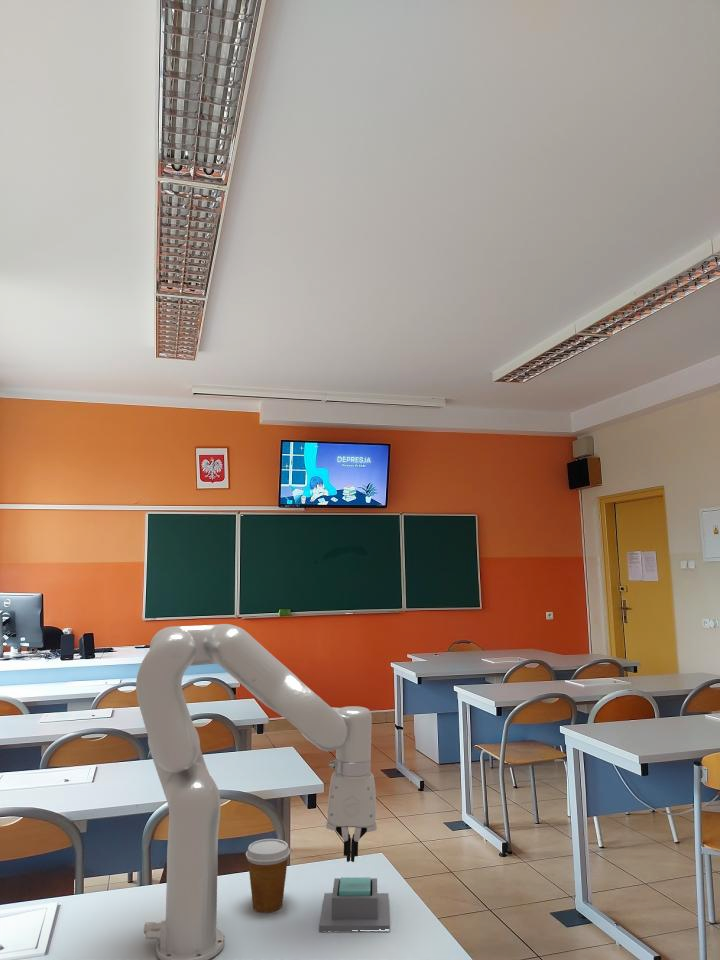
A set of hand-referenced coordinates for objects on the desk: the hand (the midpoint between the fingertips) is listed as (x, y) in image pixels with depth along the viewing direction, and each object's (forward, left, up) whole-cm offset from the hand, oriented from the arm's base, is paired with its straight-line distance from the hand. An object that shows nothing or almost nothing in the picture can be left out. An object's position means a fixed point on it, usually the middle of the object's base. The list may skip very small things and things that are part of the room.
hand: (350, 859), depth 143 cm
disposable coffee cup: (-18, +4, -11) cm, 22 cm away
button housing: (+1, 0, -11) cm, 11 cm away
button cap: (+1, 0, -9) cm, 9 cm away
